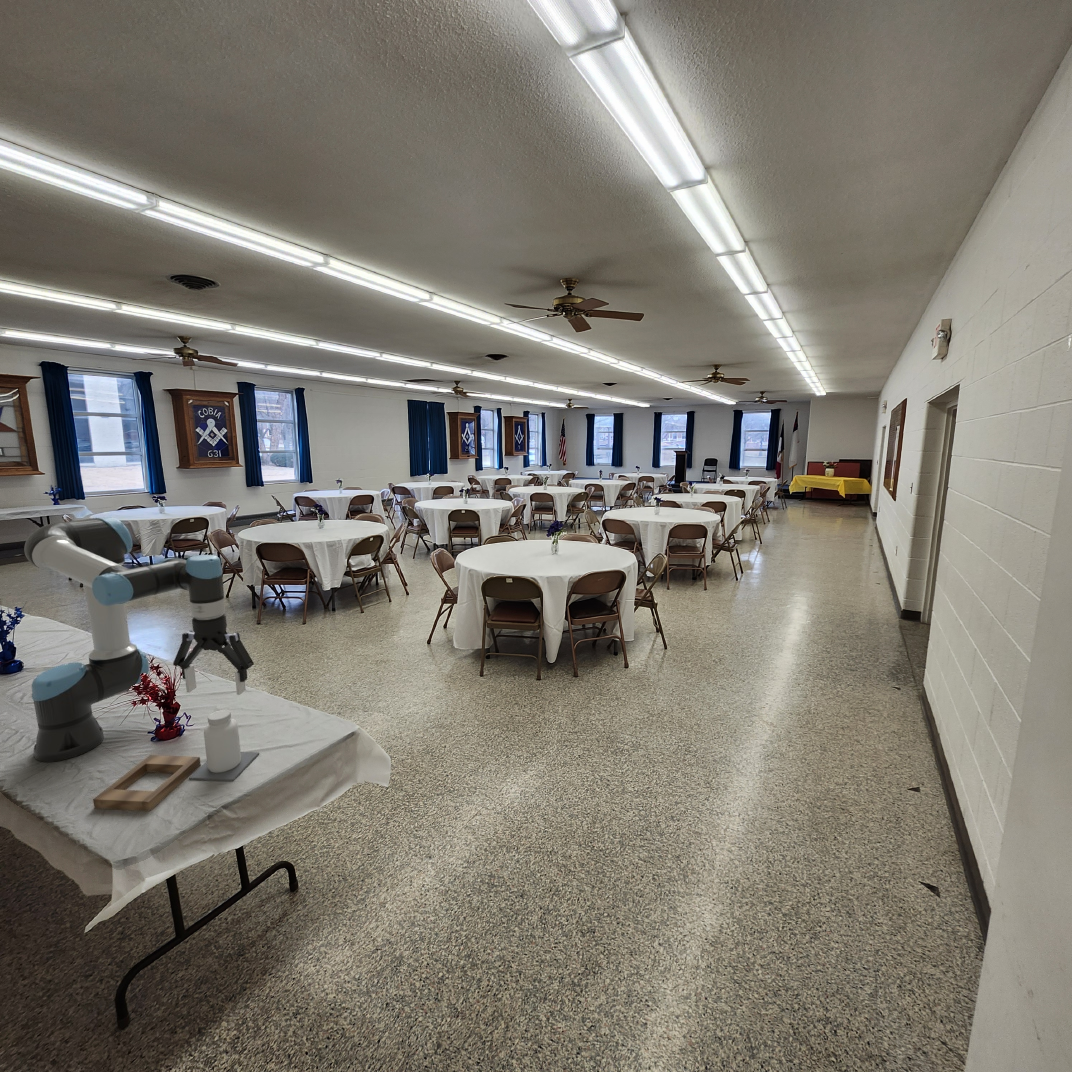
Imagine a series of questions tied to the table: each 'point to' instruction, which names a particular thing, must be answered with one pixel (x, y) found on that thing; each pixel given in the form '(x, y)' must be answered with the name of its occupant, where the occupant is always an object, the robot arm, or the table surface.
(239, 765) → the mat
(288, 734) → the table surface
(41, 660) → the table surface
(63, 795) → the table surface
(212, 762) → the pill bottle
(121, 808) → the pocket board
